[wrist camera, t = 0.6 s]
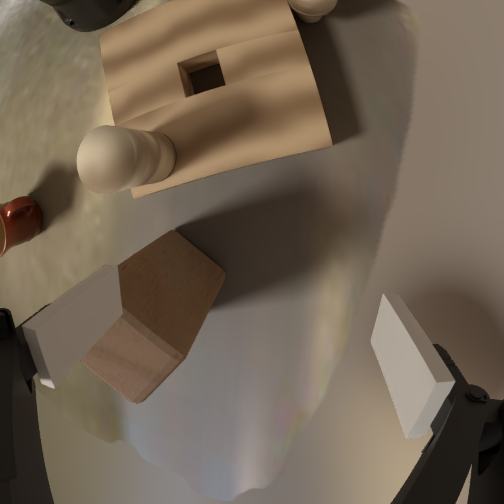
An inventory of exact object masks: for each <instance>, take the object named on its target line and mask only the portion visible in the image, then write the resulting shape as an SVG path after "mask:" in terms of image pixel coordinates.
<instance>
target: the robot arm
mask: <svg viewBox="0 0 504 504" xmlns="http://www.w3.org/2000/svg"><path fill="white" fill-rule="evenodd" d="M40 1H42V2H44V3H47V4H49V5H51V6H52V7H53V8H54V10H55V11H56V12H57V14H58V15H59V17H60V18H61V20H62V21H63V22H64V23H65V24H66V25H67V26H68V27H70V28H72V29H75V30H77V31H80V32H90V31H95V30H98V29H100V28H103V27H105V26H107V25H109V24H110V23H112V22H113V21H115V20H116V19H118V18H119V17H120V16H121V15H123V14H124V13H125V12H126V11H127V10H128V9H129V8H130V7H131V5H132V4H133V3H134V2H135V0H40ZM122 314H123V310H122V302H121V294H120V284H119V274H118V266H112V265H104V266H103V267H101V268H100V269H98V270H97V271H96V272H94V273H93V274H91V275H90V276H88V277H87V278H86V279H84V280H83V281H81V282H80V283H78V284H77V285H76V286H74V287H73V288H71V289H70V290H69V291H67V292H66V293H65V294H63V295H62V296H60V297H59V298H58V299H56V300H55V301H54V302H52V303H50V304H48V305H45V306H44V307H43V308H41V309H40V310H39V311H38V312H36V313H35V314H33V316H31V317H29V318H28V319H27V320H26V321H24V322H23V323H22V324H20V325H19V326H18V327H16V328H15V325H14V322H13V318H12V315H11V311H10V310H9V309H6V308H0V504H54V501H53V498H52V494H51V490H50V486H49V481H48V477H47V472H46V468H45V463H44V457H43V452H42V445H41V439H40V431H39V424H38V415H37V404H36V391H35V382H34V379H33V376H34V375H35V374H36V373H38V375H39V378H40V380H41V383H42V384H44V385H47V386H49V387H51V388H54V389H56V387H57V386H58V385H59V384H60V383H61V382H62V380H63V379H64V378H65V377H66V376H67V375H68V374H69V372H70V371H71V370H72V369H73V368H74V367H75V366H76V365H77V363H78V362H79V361H80V360H81V359H82V358H83V357H84V356H85V354H86V353H87V352H88V351H89V350H90V349H91V348H92V347H93V346H94V344H95V343H96V342H97V341H98V340H99V339H100V338H101V337H102V336H103V335H104V334H105V332H106V331H107V330H108V329H109V328H110V327H111V326H112V325H113V324H114V323H115V322H116V321H117V320H118V318H119V317H120V316H121V315H122ZM370 342H371V344H372V347H373V349H374V352H375V354H376V357H377V359H378V362H379V365H380V367H381V370H382V372H383V375H384V378H385V381H386V383H387V386H388V389H389V392H390V394H391V397H392V400H393V403H394V405H395V409H396V412H397V414H398V417H399V420H400V423H401V426H402V429H403V432H404V435H405V439H413V438H421V437H424V436H425V434H426V432H427V431H428V429H429V428H430V426H431V428H432V431H433V433H434V434H433V436H432V437H431V439H430V440H429V442H428V443H427V445H426V446H425V448H424V449H423V450H422V455H421V457H420V459H419V460H418V462H417V464H416V465H415V467H414V469H413V470H412V472H411V474H410V475H409V477H408V478H407V480H406V482H405V483H404V485H403V486H402V488H401V489H400V491H399V492H398V494H397V495H396V497H395V498H394V499H393V501H392V502H391V504H455V503H456V501H457V499H458V497H459V495H460V492H461V490H462V488H463V485H464V483H465V480H466V478H467V475H468V473H469V470H470V467H471V465H472V469H471V479H470V488H469V495H468V502H467V504H504V399H503V400H495V399H490V397H489V395H488V394H487V392H486V391H485V390H484V389H482V388H480V387H479V386H476V385H469V384H468V383H467V381H466V380H465V378H464V377H463V375H462V374H461V372H460V371H459V369H458V367H457V366H455V363H454V362H453V360H451V357H450V355H449V354H448V353H447V351H446V350H445V349H443V348H442V347H441V346H440V345H438V344H432V343H431V342H430V340H429V339H428V337H427V336H426V334H425V333H424V331H423V330H422V328H421V327H420V325H419V324H418V322H417V321H416V320H415V318H414V317H413V315H412V314H411V312H410V311H409V310H408V308H407V307H406V305H405V304H404V303H403V301H402V300H401V298H400V297H399V296H398V295H397V294H392V293H383V295H382V300H381V304H380V308H379V312H378V316H377V320H376V323H375V327H374V330H373V334H372V337H371V341H370Z"/></svg>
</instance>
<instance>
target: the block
mask: <svg viewBox="0 0 504 504" xmlns="http://www.w3.org/2000/svg"><path fill="white" fill-rule="evenodd" d="M118 274H119V284H120V294H121V302H122V310H123V314H122V315H121V316H120V317H119V318H118V320H117V321H116V322H115V323H114V324H113V325H112V326H111V327H110V328H109V329H108V330H107V331H106V332H105V334H104V335H103V336H102V337H101V338H100V339H99V340H98V341H97V342H96V343H95V344H94V346H93V347H92V348H91V349H90V350H89V351H88V352H87V353H86V354H85V356H84V357H83V358H82V359H81V360H80V361H81V362H82V363H83V364H84V365H85V366H86V367H88V368H89V369H90V370H91V371H92V372H93V373H95V374H96V375H97V376H98V377H100V378H101V379H102V380H103V381H104V382H106V383H107V384H108V385H110V386H111V387H112V388H113V389H115V390H116V391H117V392H119V393H120V394H121V395H123V396H124V397H125V398H127V399H128V400H129V401H131V402H133V403H136V404H138V403H141V402H143V401H144V400H146V399H147V398H148V396H149V395H150V394H151V393H152V392H153V391H154V390H155V389H156V388H157V387H158V386H159V385H160V384H161V383H162V382H163V381H164V380H165V379H166V378H167V377H168V376H169V375H170V374H171V373H172V372H173V371H174V370H175V369H176V368H177V367H178V366H179V365H180V364H181V363H182V362H183V361H184V359H185V358H186V356H187V354H188V352H189V350H190V348H191V346H192V344H193V342H194V340H195V338H196V336H197V334H198V332H199V330H200V328H201V326H202V324H203V322H204V320H205V318H206V316H207V314H208V312H209V310H210V308H211V306H212V304H213V302H214V300H215V298H216V296H217V294H218V292H219V290H220V288H221V286H222V284H223V282H224V280H225V277H226V273H225V272H224V270H223V269H222V268H221V267H219V266H218V265H217V264H216V263H214V262H213V261H212V260H211V259H209V258H208V257H207V256H206V255H205V254H203V253H202V252H201V251H200V250H198V249H197V248H196V247H195V246H194V245H192V244H191V243H190V242H189V241H188V240H186V239H185V238H184V237H183V236H181V235H180V234H179V233H178V232H176V231H174V230H171V231H169V232H167V233H166V234H164V235H163V236H161V237H159V238H158V239H156V240H155V241H153V242H152V243H150V244H149V245H147V246H146V247H144V248H143V249H141V250H140V251H138V252H137V253H135V254H134V255H132V256H131V257H130V258H128V259H127V260H125V261H124V262H122V263H121V264H119V265H118Z"/></svg>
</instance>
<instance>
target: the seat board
mask: <svg viewBox="0 0 504 504" xmlns="http://www.w3.org/2000/svg"><path fill="white" fill-rule="evenodd" d="M99 39H100V46H101V53H102V59H103V66H104V72H105V77H106V83H107V89H108V94H109V99H110V104H111V109H112V114H113V119H114V123H115V126H108V125H105V126H100V127H97V128H95V129H93V130H92V131H91V132H89V133H88V134H87V135H86V137H85V138H84V139H83V141H82V143H81V145H80V147H79V150H78V154H77V169H78V173H79V176H80V179H81V181H82V182H83V184H84V185H85V186H86V187H87V188H88V189H89V190H91V191H92V192H94V193H97V194H109V193H113V192H117V191H121V190H126V189H130V188H131V192H132V195H133V199H136V198H139V197H142V196H146V195H149V194H152V193H155V192H159V191H162V190H165V189H168V188H171V187H174V186H178V185H181V184H184V183H188V182H191V181H194V180H198V179H201V178H205V177H208V176H212V175H215V174H219V173H223V172H226V171H230V170H234V169H238V168H242V167H245V166H249V165H253V164H257V163H261V162H265V161H270V160H274V159H278V158H282V157H287V156H291V155H295V154H300V153H305V152H309V151H314V150H319V149H324V148H328V147H332V146H333V144H332V140H331V136H330V132H329V128H328V125H327V121H326V117H325V113H324V110H323V106H322V103H321V99H320V96H319V92H318V89H317V86H316V82H315V79H314V76H313V73H312V69H311V66H310V63H309V60H308V57H307V54H306V51H305V48H304V45H303V42H302V39H301V37H300V34H299V31H298V28H297V25H296V23H295V20H294V17H293V15H292V12H291V10H290V7H289V4H288V2H287V0H172V1H170V2H167V3H165V4H162V5H160V6H157V7H155V8H153V9H150V10H148V11H146V12H143V13H141V14H139V15H137V16H135V17H133V18H131V19H128V20H126V21H124V22H122V23H120V24H118V25H116V26H114V27H113V28H111V29H109V30H107V31H105V32H103V33H101V34H100V35H99ZM219 63H220V66H221V69H222V73H223V77H224V80H225V84H226V85H225V86H221V87H218V88H215V89H211V90H208V91H205V92H202V93H199V94H196V95H195V93H194V89H193V86H192V82H191V78H190V74H189V73H191V72H194V71H197V70H200V69H203V68H206V67H209V66H212V65H216V64H219Z"/></svg>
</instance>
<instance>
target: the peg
mask: <svg viewBox="0 0 504 504" xmlns="http://www.w3.org/2000/svg"><path fill="white" fill-rule="evenodd" d="M337 1H338V0H287V2H288V4H289V6H290V7H291V8H292V9H293V10H294V11H296V13H297V16H298V18H299V19H300V20H302V21H303V22H306V23H315V22H318V21H319V20H320V19H321V18H322V16H325V15H328V14H329V13H331V12H332V11H333V10H334V9H335V7H336V5H337Z"/></svg>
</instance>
